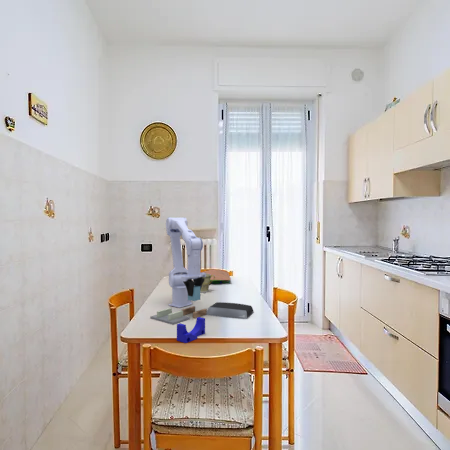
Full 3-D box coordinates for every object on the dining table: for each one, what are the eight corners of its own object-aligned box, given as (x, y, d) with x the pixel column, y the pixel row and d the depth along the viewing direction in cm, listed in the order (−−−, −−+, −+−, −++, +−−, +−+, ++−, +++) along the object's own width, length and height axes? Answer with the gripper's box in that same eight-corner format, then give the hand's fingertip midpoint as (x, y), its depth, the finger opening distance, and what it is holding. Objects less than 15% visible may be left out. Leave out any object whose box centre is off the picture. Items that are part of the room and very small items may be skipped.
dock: (167, 313, 163) (167, 306, 163) (189, 319, 154) (189, 311, 154) (150, 318, 155) (150, 310, 155) (173, 324, 146) (173, 316, 146)
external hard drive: (246, 320, 154) (246, 311, 154) (205, 316, 161) (205, 307, 161) (254, 313, 167) (254, 304, 166) (215, 309, 173) (215, 300, 173)
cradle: (193, 311, 166) (193, 306, 166) (206, 314, 162) (206, 309, 162) (181, 315, 160) (181, 309, 160) (194, 318, 155) (194, 312, 155)
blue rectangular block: (193, 298, 163) (193, 285, 163) (200, 299, 161) (200, 286, 161) (187, 299, 160) (187, 286, 160) (194, 301, 158) (194, 287, 158)
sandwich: (195, 285, 229) (195, 273, 229) (197, 276, 262) (197, 265, 262) (231, 285, 230) (231, 273, 230) (228, 276, 263) (228, 265, 263)
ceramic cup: (196, 294, 202) (197, 276, 202) (191, 290, 212) (191, 274, 211) (218, 292, 208) (218, 275, 207) (211, 289, 217) (211, 272, 217)
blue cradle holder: (185, 343, 125) (185, 326, 125) (176, 340, 128) (176, 324, 128) (208, 334, 135) (208, 319, 135) (199, 332, 138) (199, 316, 138)
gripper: (189, 267, 152) (189, 299, 152) (211, 264, 164) (211, 293, 164) (177, 266, 156) (177, 296, 157) (199, 262, 168) (199, 291, 168)
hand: (193, 295), depth 161 cm, fingers closed on blue rectangular block, 4 cm apart
